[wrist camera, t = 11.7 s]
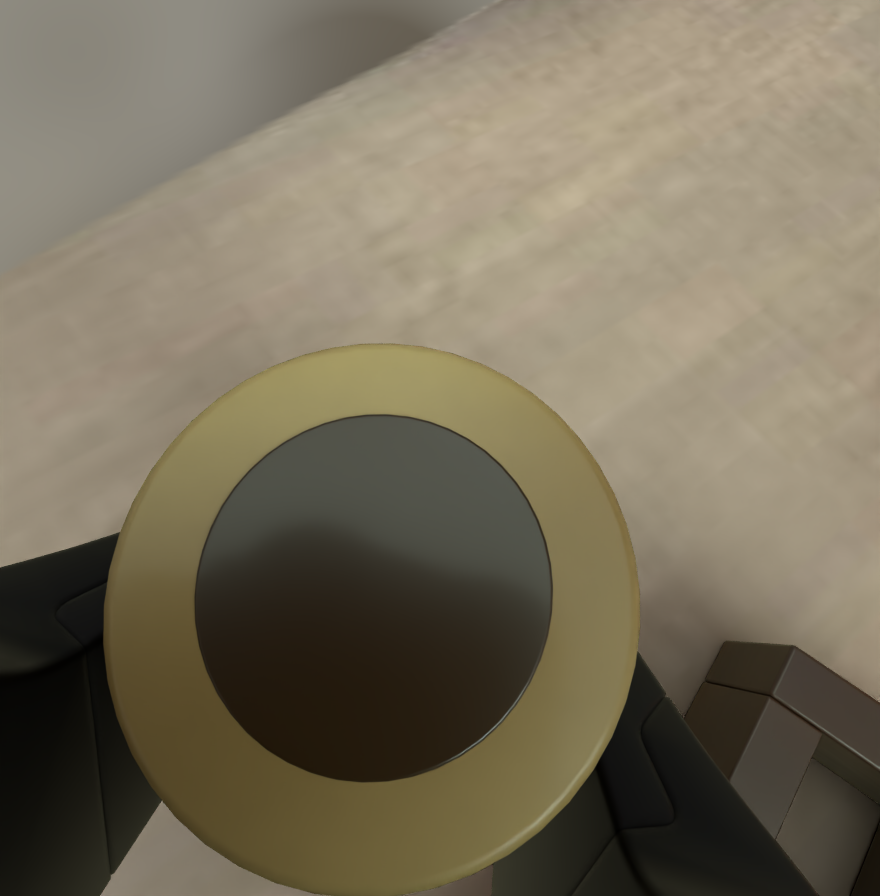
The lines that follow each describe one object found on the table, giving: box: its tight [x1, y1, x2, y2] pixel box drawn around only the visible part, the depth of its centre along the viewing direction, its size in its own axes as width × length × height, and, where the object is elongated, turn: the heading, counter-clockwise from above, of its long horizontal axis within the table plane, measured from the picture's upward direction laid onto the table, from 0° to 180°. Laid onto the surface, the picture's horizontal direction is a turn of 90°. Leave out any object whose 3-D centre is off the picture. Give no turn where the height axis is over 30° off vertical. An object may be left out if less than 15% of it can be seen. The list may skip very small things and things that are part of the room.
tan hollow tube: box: [103, 344, 640, 896], centre depth 9 cm, size 3×3×12 cm
